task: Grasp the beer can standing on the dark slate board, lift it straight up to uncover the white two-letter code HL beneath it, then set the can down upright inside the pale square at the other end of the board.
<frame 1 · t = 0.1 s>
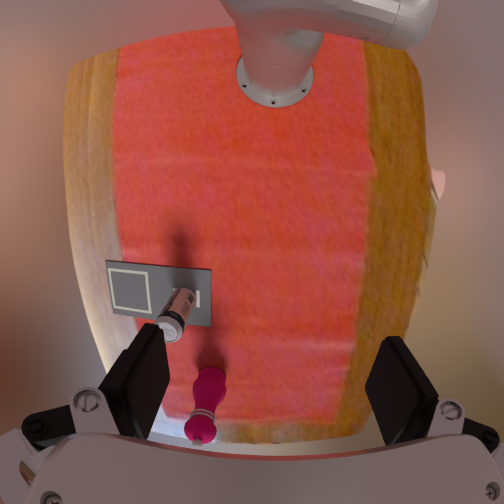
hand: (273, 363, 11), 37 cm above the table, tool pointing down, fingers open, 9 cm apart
beer can: (185, 297, 51), resting on slate board
slate board: (156, 294, 51), on the table
pepper mill: (212, 375, 57), on the table
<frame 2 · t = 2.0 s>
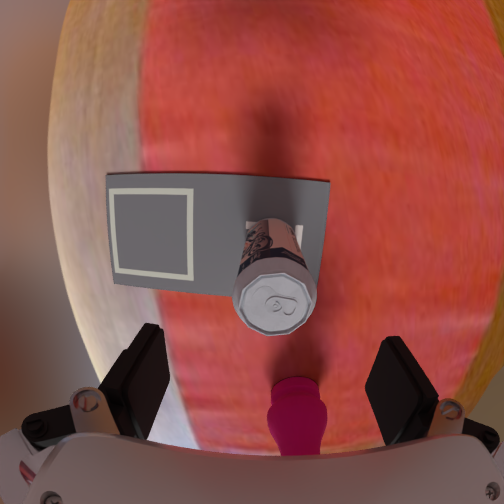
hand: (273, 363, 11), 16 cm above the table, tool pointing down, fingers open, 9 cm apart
beer can: (270, 241, 26), resting on slate board
slate board: (207, 237, 26), on the table
pepper mill: (294, 391, 32), on the table
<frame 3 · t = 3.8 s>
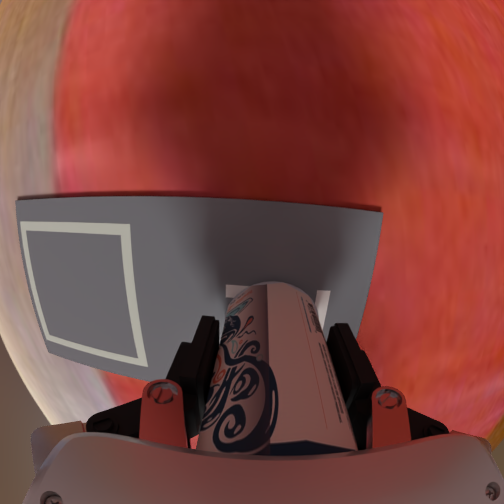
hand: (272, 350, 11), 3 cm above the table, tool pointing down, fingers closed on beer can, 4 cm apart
beer can: (271, 317, 14), resting on slate board, touching gripper
slate board: (161, 306, 14), on the table
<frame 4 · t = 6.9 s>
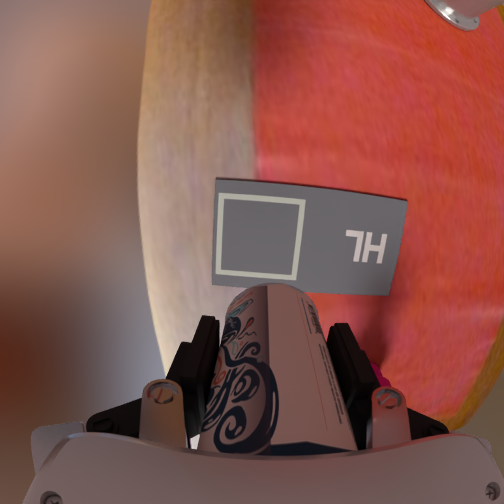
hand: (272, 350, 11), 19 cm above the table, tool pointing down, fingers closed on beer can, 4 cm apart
beer can: (271, 318, 14), point 17 cm above the table, touching gripper
slate board: (313, 242, 30), on the table
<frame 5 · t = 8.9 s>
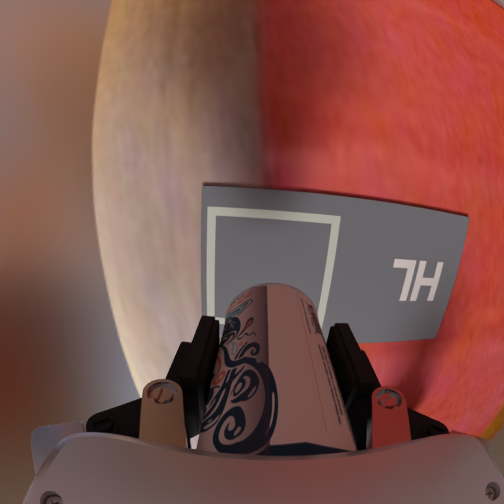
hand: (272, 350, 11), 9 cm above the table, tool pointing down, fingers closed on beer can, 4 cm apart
beer can: (271, 318, 14), point 6 cm above the table, touching gripper
slate board: (348, 277, 20), on the table
when the fingers open (4 cm above the table, at t = 10.3 s): beer can stays where it is, resting on slate board.
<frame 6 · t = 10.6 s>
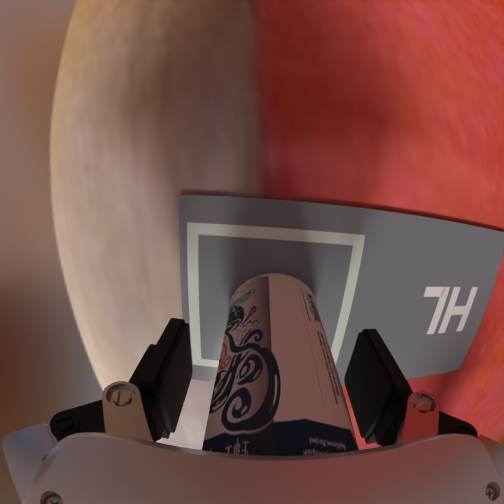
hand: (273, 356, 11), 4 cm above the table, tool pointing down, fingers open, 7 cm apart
beer can: (272, 307, 15), resting on slate board
slate board: (370, 311, 15), on the table
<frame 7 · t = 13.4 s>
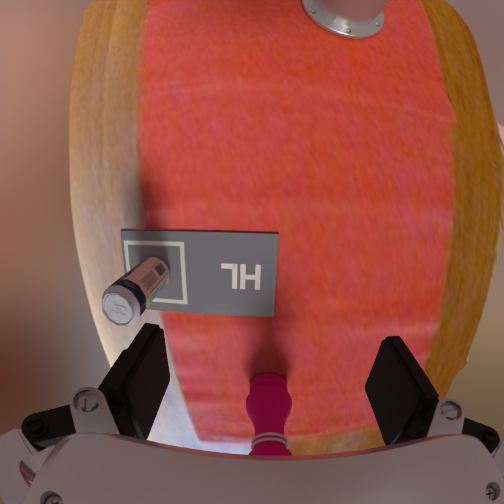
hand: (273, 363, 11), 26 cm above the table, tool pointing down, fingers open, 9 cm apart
beer can: (155, 271, 37), resting on slate board
slate board: (195, 274, 37), on the table
pepper mill: (268, 384, 43), on the table
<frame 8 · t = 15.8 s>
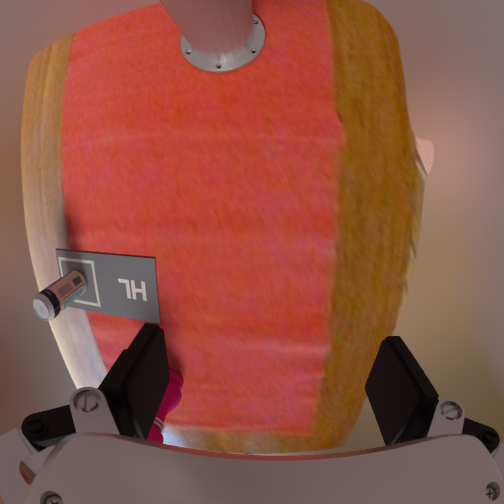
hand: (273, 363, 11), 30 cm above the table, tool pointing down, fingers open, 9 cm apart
beer can: (79, 280, 44), resting on slate board
slate board: (103, 285, 44), on the table
pepper mill: (169, 377, 50), on the table
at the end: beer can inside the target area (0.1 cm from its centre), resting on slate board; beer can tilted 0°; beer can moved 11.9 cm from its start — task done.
